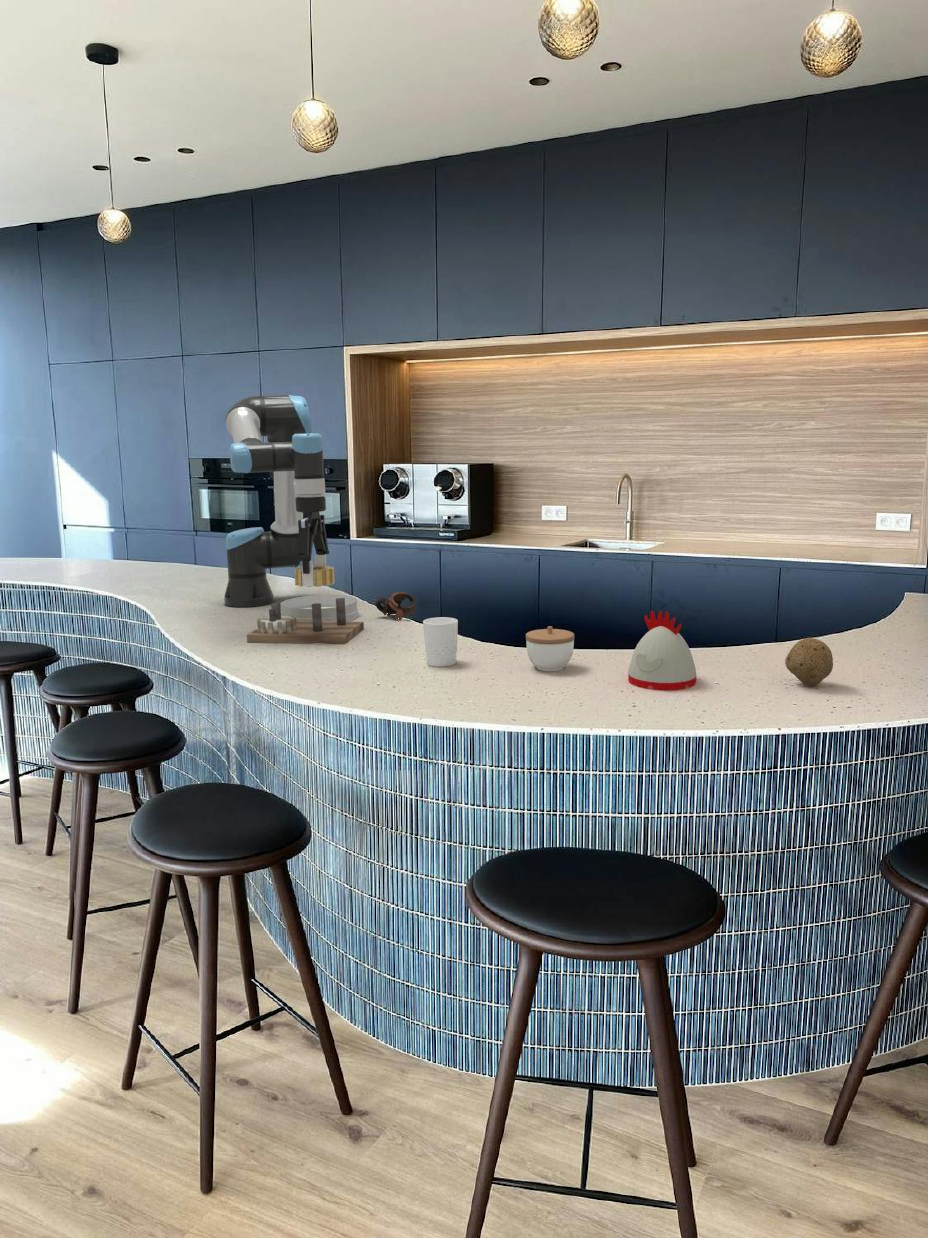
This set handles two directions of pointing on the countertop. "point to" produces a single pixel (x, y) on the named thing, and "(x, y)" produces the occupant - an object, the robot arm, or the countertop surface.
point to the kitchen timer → (662, 657)
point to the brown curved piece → (396, 605)
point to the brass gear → (317, 576)
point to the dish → (303, 607)
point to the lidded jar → (550, 648)
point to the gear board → (305, 627)
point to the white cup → (440, 641)
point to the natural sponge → (810, 661)
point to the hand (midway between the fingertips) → (315, 582)
